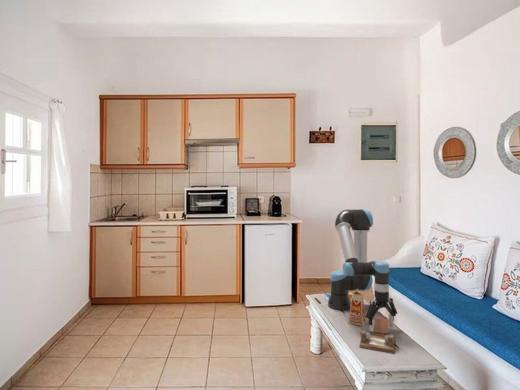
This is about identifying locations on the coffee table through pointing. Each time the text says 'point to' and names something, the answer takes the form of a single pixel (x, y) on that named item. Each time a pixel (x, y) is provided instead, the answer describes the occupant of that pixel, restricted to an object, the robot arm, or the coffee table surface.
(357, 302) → the milk carton
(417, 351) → the coffee table surface
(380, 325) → the block
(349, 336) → the coffee table surface
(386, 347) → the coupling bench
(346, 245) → the robot arm
